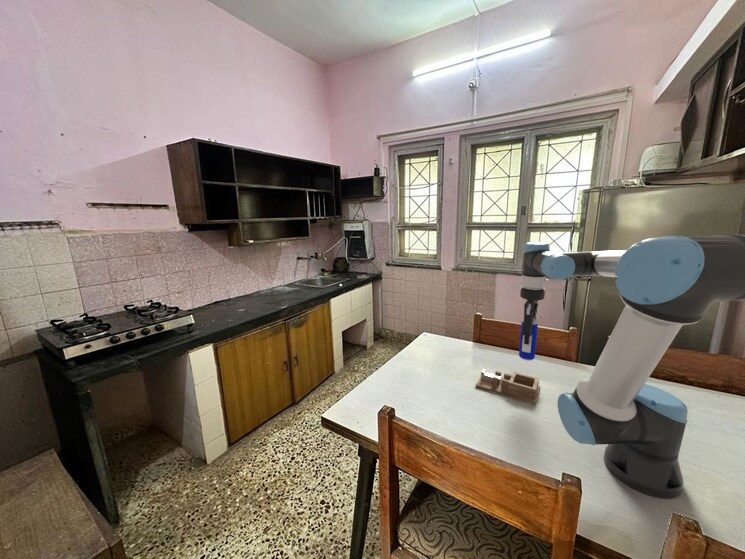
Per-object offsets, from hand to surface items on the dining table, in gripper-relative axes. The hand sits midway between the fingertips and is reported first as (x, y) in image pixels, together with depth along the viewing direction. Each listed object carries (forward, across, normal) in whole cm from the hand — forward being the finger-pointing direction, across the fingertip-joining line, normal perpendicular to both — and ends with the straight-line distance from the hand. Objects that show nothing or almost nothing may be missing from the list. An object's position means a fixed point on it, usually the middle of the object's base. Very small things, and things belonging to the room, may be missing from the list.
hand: (527, 348), depth 108 cm
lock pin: (+17, 0, +12) cm, 21 cm away
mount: (+18, 0, +6) cm, 19 cm away
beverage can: (+4, 0, 0) cm, 4 cm away
